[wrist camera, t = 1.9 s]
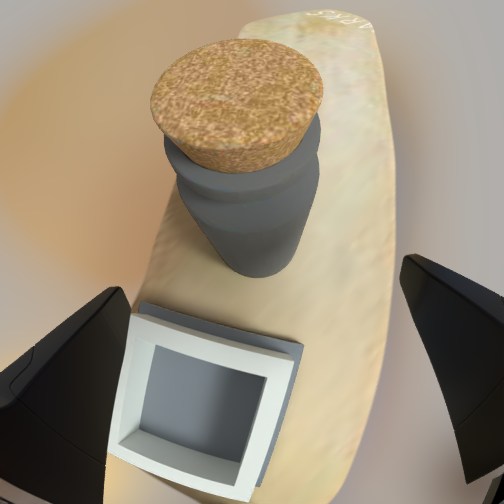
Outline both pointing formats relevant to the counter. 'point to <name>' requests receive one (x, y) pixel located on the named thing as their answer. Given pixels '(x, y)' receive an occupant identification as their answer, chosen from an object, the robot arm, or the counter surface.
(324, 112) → the counter surface
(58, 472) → the robot arm
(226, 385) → the holder
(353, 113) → the counter surface
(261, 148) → the bottle
